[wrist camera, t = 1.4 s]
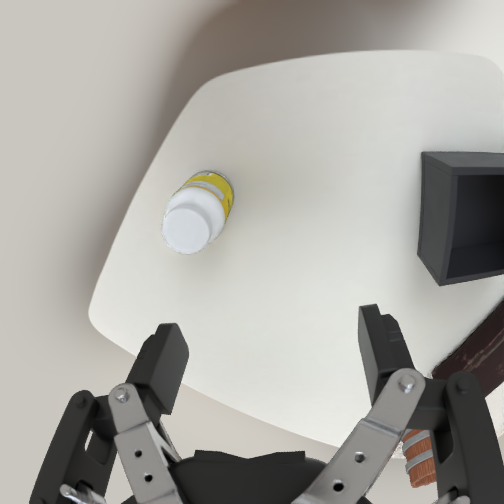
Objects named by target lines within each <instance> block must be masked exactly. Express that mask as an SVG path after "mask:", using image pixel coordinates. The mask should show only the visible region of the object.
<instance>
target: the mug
mask: <svg viewBox="0 0 504 504" xmlns="http://www.w3.org/2000/svg"><path fill="white" fill-rule="evenodd" d="M401 440H402V441H403V443H404V444H403V446H402V450H403V455H404V456H406V459H407V464H406V465H405V467H406V472H407V474H409V476H410V482H411V486H412V487H413V488H417V487H419V486H422V485H428V484H430V483H433V482H436V473H435V465H434V459H433V452H432V446H431V440H430V435H429V430H415V429H407V430H406V431H405V433H404V435H403V437H402V439H401Z"/></svg>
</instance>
